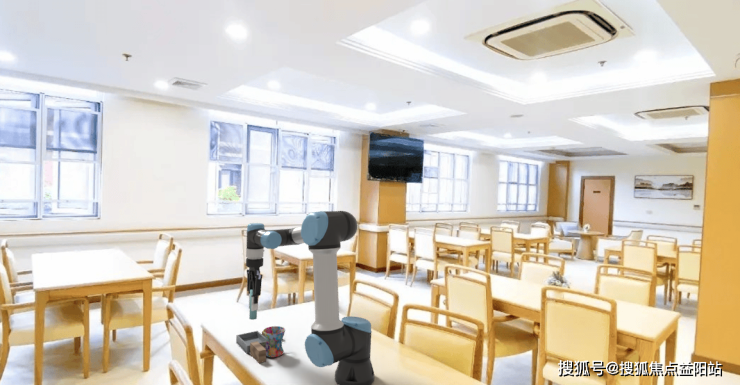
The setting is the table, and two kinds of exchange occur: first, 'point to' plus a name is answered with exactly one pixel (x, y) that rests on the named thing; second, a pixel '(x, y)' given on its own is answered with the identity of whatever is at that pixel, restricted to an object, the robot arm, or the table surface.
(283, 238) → the robot arm
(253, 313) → the dowel
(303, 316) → the table surface
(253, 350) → the block
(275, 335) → the mug
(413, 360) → the table surface
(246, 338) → the tray
